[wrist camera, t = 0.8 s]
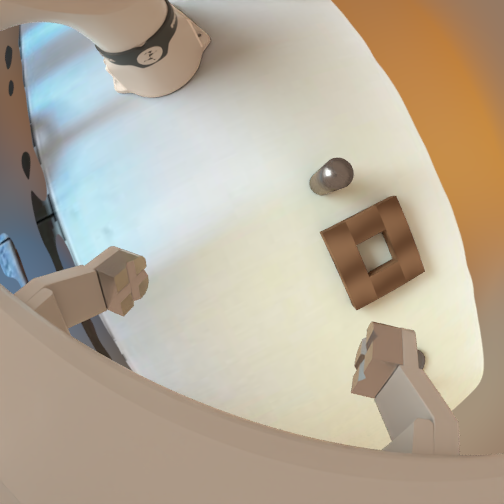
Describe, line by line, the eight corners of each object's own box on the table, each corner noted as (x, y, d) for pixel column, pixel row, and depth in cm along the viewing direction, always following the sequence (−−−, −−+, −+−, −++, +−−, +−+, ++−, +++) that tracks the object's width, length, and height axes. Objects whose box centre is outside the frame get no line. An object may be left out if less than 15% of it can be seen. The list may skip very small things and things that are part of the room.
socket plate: (319, 232, 44) (322, 233, 42) (389, 196, 43) (396, 195, 40) (352, 305, 45) (356, 310, 43) (418, 268, 44) (424, 271, 42)
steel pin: (305, 178, 43) (318, 165, 32) (325, 168, 43) (344, 152, 31) (316, 198, 44) (332, 193, 32) (336, 189, 43) (358, 180, 31)
